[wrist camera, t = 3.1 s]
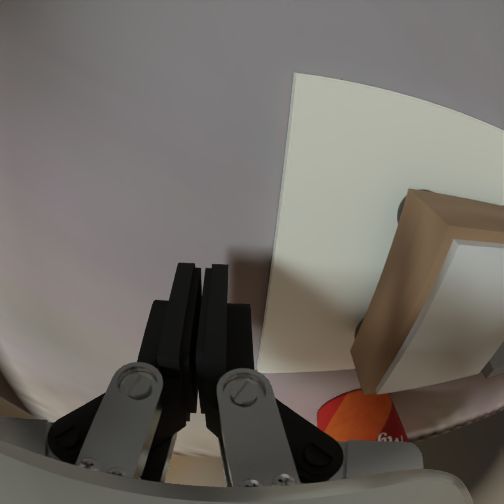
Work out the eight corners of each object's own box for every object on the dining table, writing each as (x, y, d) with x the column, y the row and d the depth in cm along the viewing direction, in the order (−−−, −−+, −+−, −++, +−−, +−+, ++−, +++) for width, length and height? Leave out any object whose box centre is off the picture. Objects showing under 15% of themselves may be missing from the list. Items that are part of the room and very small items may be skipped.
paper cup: (381, 363, 17) (440, 574, 5) (413, 398, 21) (457, 548, 9) (279, 413, 20) (297, 600, 8) (330, 436, 23) (354, 578, 11)
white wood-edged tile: (395, 177, 10) (453, 231, 7) (510, 201, 11) (562, 244, 7) (344, 335, 14) (365, 400, 11) (451, 326, 15) (479, 376, 12)
